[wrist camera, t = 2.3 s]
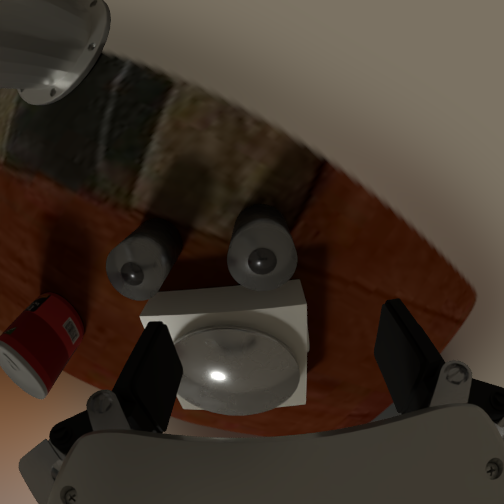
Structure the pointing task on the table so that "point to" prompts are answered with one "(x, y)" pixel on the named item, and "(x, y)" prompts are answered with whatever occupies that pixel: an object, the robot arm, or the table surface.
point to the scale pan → (235, 369)
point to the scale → (238, 318)
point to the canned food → (40, 343)
